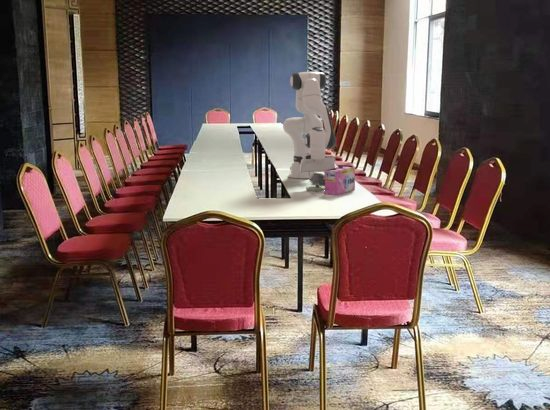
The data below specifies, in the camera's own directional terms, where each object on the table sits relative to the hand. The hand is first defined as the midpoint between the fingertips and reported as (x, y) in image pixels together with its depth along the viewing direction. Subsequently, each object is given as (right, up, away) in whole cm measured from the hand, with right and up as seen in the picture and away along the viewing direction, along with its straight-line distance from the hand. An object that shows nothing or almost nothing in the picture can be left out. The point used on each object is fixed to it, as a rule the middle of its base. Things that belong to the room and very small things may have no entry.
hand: (317, 179), depth 349 cm
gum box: (+12, -8, -8) cm, 17 cm away
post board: (+2, -6, 0) cm, 6 cm away
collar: (0, -2, 0) cm, 2 cm away
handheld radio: (+3, -3, +18) cm, 18 cm away
